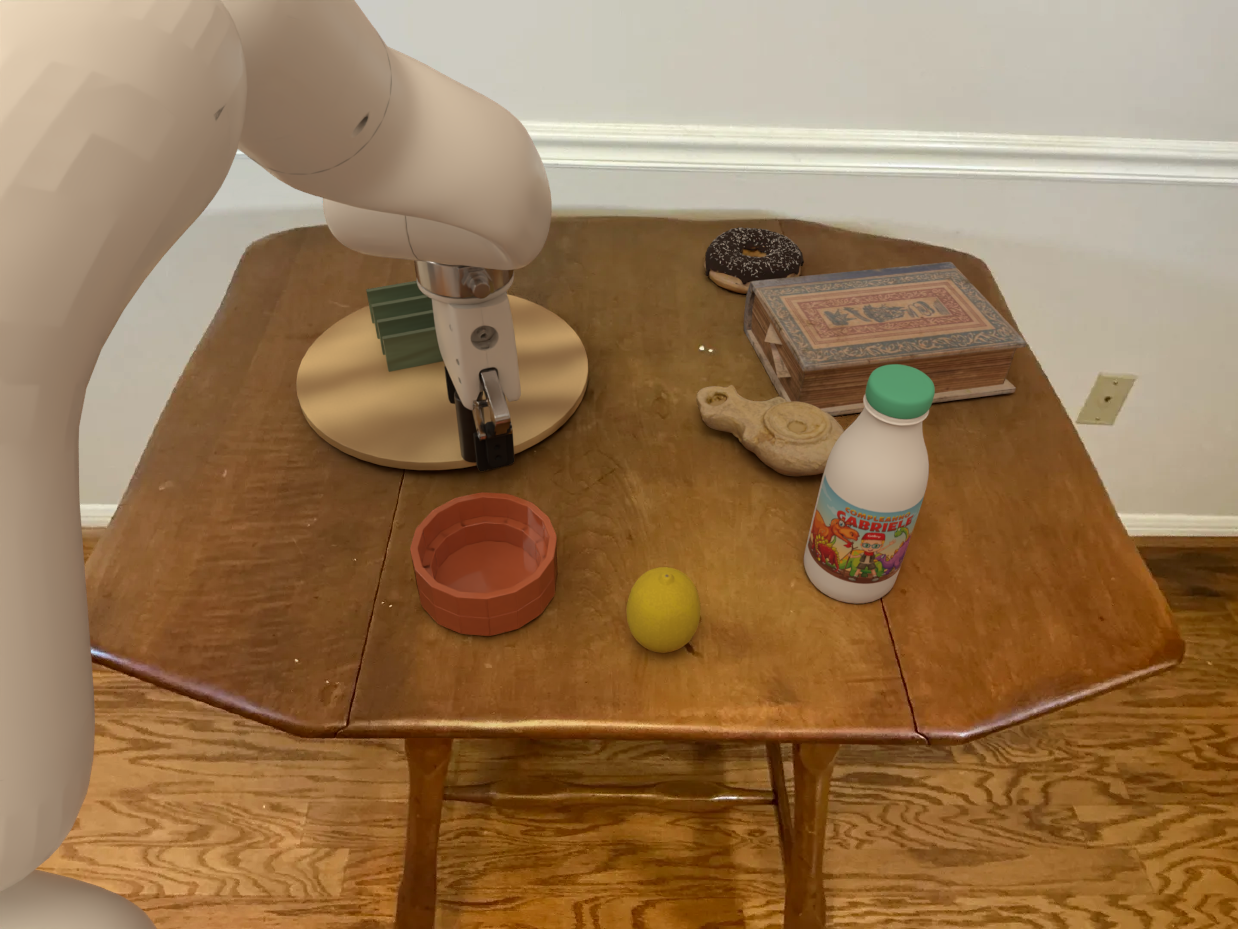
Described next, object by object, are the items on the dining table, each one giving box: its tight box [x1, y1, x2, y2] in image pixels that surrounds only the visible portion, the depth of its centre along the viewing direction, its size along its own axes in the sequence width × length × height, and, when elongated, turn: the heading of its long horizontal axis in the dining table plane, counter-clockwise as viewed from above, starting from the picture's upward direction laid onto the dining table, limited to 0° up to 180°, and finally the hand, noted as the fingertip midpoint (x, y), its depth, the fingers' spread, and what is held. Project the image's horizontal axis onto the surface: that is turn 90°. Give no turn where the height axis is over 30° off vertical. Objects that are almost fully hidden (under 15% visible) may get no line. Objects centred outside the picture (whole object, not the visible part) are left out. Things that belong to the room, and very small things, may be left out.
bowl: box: [409, 491, 559, 637], centre depth 76 cm, size 11×11×5 cm
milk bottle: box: [803, 364, 935, 605], centre depth 73 cm, size 8×8×20 cm
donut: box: [703, 227, 805, 295], centre depth 113 cm, size 11×12×4 cm
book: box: [743, 261, 1028, 417], centre depth 99 cm, size 17×7×25 cm
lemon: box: [626, 566, 702, 654], centre depth 71 cm, size 6×6×8 cm
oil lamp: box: [695, 384, 845, 477], centre depth 88 cm, size 11×14×5 cm
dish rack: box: [295, 280, 589, 471], centre depth 93 cm, size 30×29×8 cm
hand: (480, 431), depth 84 cm, fingers open, 9 cm apart
